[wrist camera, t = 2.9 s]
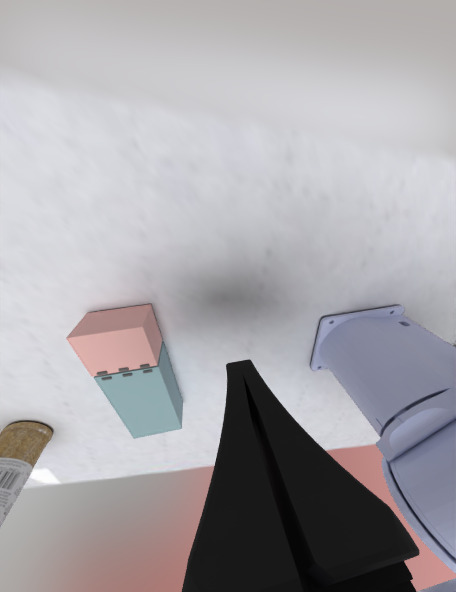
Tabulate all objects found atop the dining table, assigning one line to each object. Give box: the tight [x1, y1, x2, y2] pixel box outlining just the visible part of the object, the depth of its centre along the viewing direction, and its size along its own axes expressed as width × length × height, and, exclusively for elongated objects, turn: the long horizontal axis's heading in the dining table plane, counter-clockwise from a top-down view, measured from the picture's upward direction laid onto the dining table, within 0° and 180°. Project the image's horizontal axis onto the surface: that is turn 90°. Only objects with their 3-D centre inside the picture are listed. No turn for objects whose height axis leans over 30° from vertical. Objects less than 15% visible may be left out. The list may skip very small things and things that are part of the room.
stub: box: [66, 304, 162, 376], centre depth 15 cm, size 5×4×3 cm
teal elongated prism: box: [94, 342, 183, 438], centre depth 19 cm, size 5×10×3 cm, turn 4°
